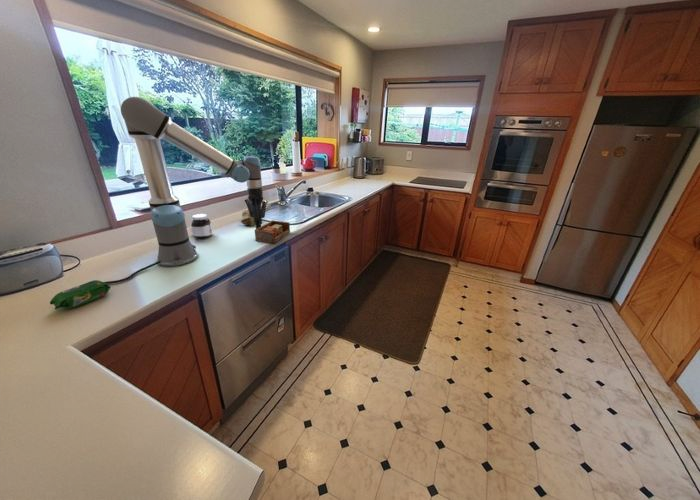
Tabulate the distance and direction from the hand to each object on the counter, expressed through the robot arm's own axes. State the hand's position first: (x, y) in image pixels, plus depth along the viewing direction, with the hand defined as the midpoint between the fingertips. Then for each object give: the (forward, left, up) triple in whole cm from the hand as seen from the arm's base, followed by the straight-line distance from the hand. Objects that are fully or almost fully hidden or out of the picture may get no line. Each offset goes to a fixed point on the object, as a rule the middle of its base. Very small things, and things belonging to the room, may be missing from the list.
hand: (258, 229), depth 156 cm
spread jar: (-13, +28, -3) cm, 31 cm away
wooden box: (0, -9, -3) cm, 9 cm away
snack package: (-76, +19, -3) cm, 78 cm away
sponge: (+18, +18, -3) cm, 26 cm away
